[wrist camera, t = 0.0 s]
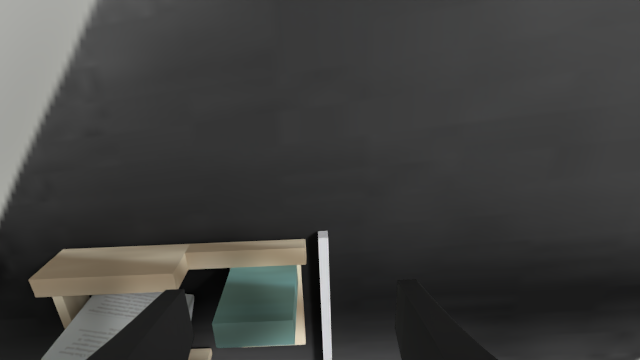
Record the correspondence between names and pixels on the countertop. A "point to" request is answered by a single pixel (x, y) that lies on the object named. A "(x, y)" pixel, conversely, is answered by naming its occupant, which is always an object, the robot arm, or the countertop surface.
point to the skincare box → (101, 323)
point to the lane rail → (325, 293)
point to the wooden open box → (168, 273)
